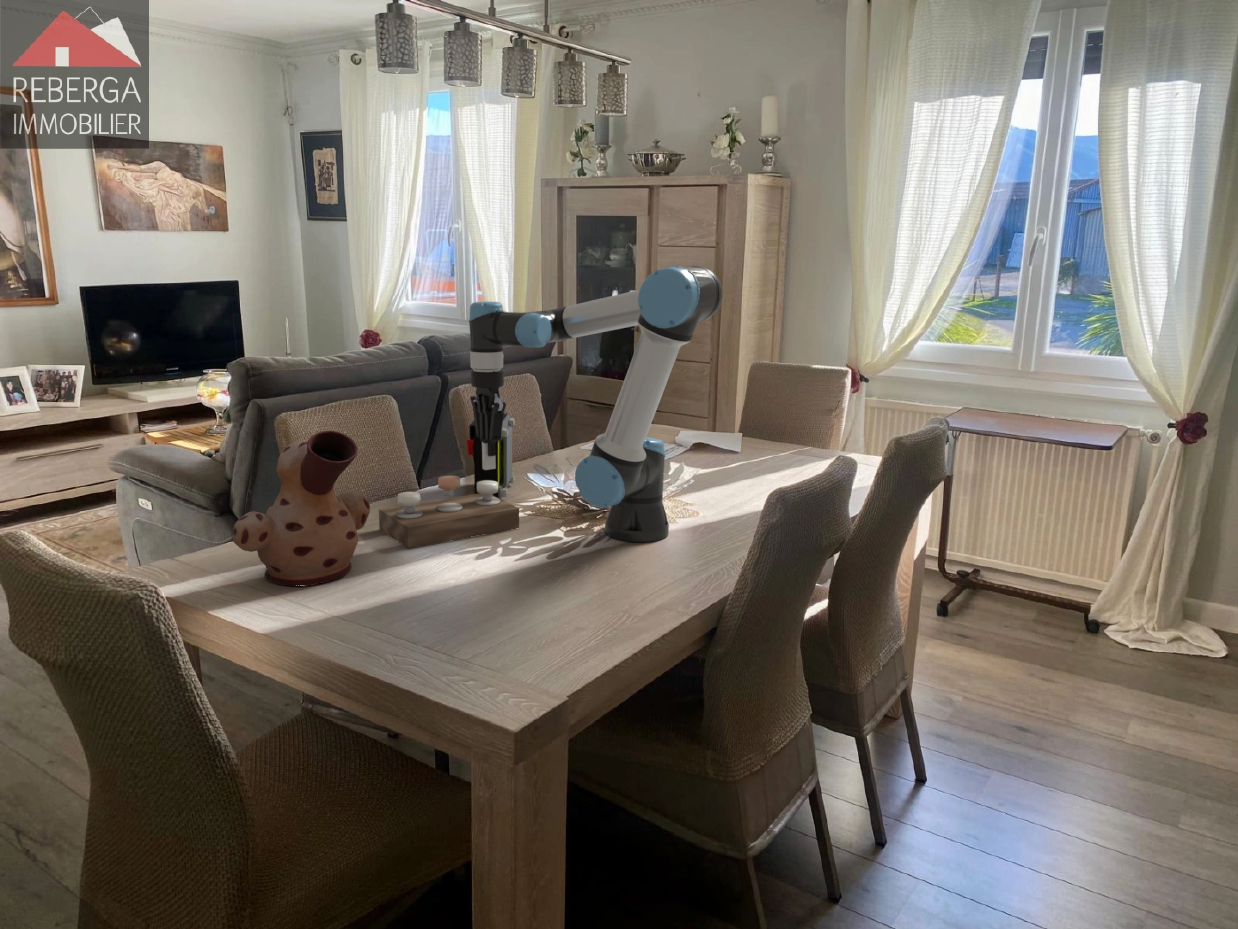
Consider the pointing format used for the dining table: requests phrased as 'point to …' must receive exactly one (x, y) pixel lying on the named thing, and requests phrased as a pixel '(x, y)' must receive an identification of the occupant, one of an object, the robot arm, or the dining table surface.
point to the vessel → (307, 515)
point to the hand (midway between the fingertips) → (489, 468)
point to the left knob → (409, 501)
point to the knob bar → (448, 520)
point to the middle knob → (449, 484)
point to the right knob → (487, 489)
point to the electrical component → (501, 458)
